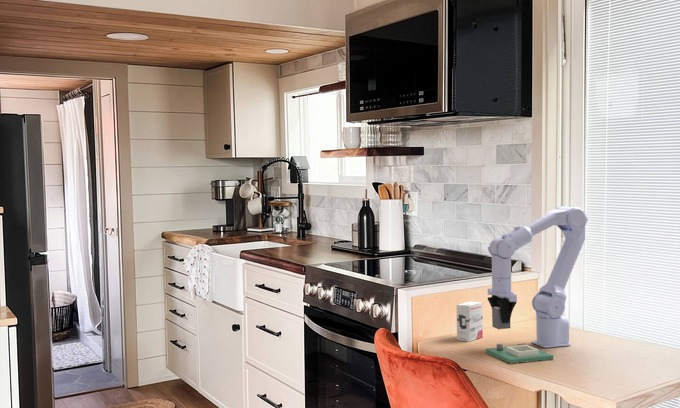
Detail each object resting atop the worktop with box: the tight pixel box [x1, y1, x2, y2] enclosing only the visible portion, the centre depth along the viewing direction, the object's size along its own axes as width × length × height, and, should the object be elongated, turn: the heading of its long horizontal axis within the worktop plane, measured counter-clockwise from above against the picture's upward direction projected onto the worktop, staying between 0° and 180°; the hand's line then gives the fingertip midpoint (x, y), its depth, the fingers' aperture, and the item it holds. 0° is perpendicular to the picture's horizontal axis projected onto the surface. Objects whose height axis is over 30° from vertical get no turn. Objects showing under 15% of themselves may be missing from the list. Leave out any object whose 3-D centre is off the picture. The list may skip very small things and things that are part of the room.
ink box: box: [456, 300, 484, 343], centre depth 225 cm, size 8×5×12 cm, turn 137°
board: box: [485, 343, 554, 364], centre depth 203 cm, size 14×14×3 cm
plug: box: [491, 307, 511, 330], centre depth 211 cm, size 4×4×6 cm
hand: (502, 321), depth 211 cm, fingers closed on plug, 4 cm apart
